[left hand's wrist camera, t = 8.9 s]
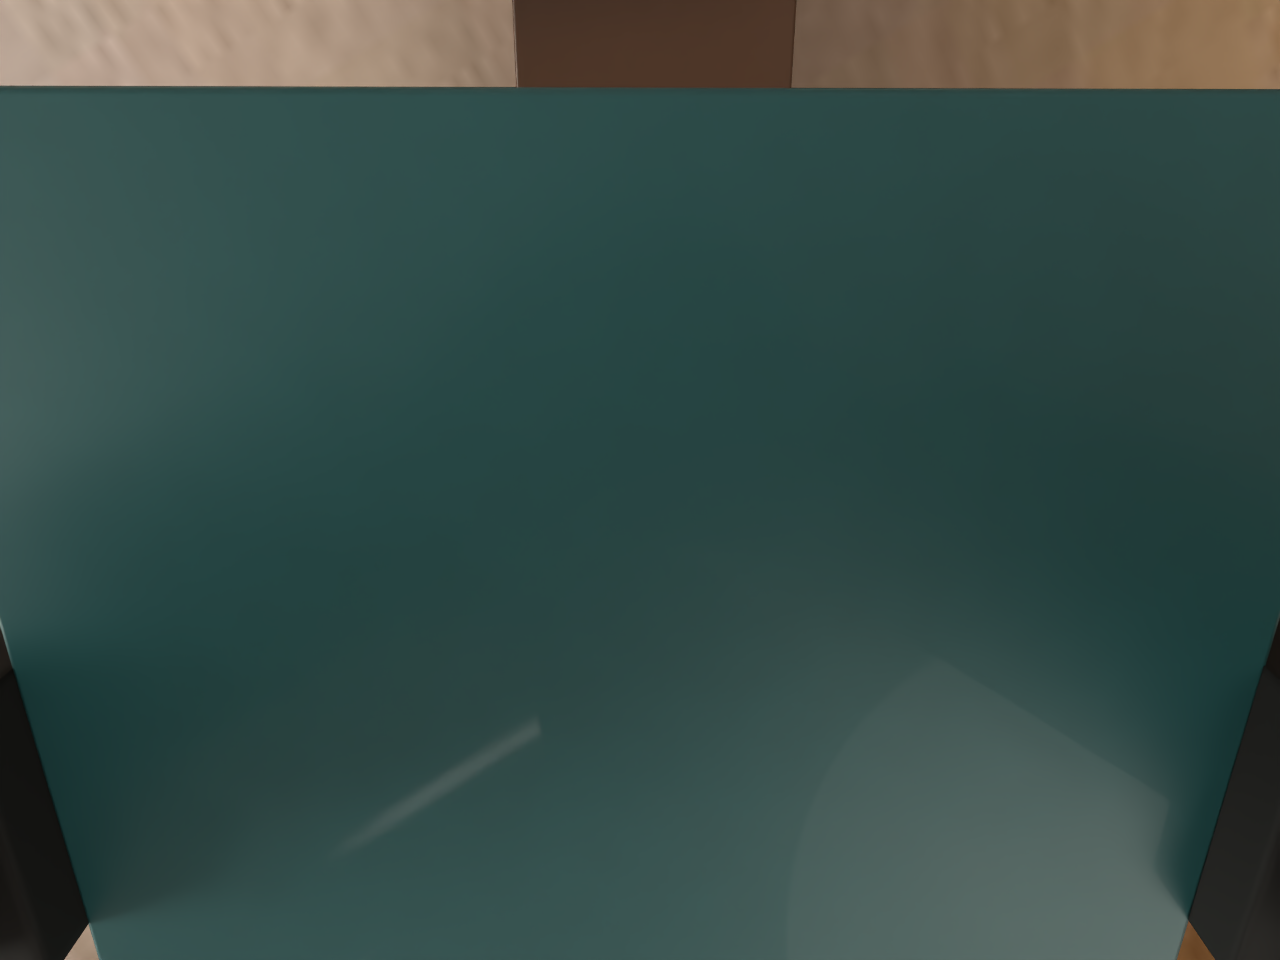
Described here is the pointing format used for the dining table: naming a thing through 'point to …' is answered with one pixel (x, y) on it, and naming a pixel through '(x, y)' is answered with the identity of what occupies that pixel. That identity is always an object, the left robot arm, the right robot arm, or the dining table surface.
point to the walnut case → (654, 43)
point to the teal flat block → (638, 513)
